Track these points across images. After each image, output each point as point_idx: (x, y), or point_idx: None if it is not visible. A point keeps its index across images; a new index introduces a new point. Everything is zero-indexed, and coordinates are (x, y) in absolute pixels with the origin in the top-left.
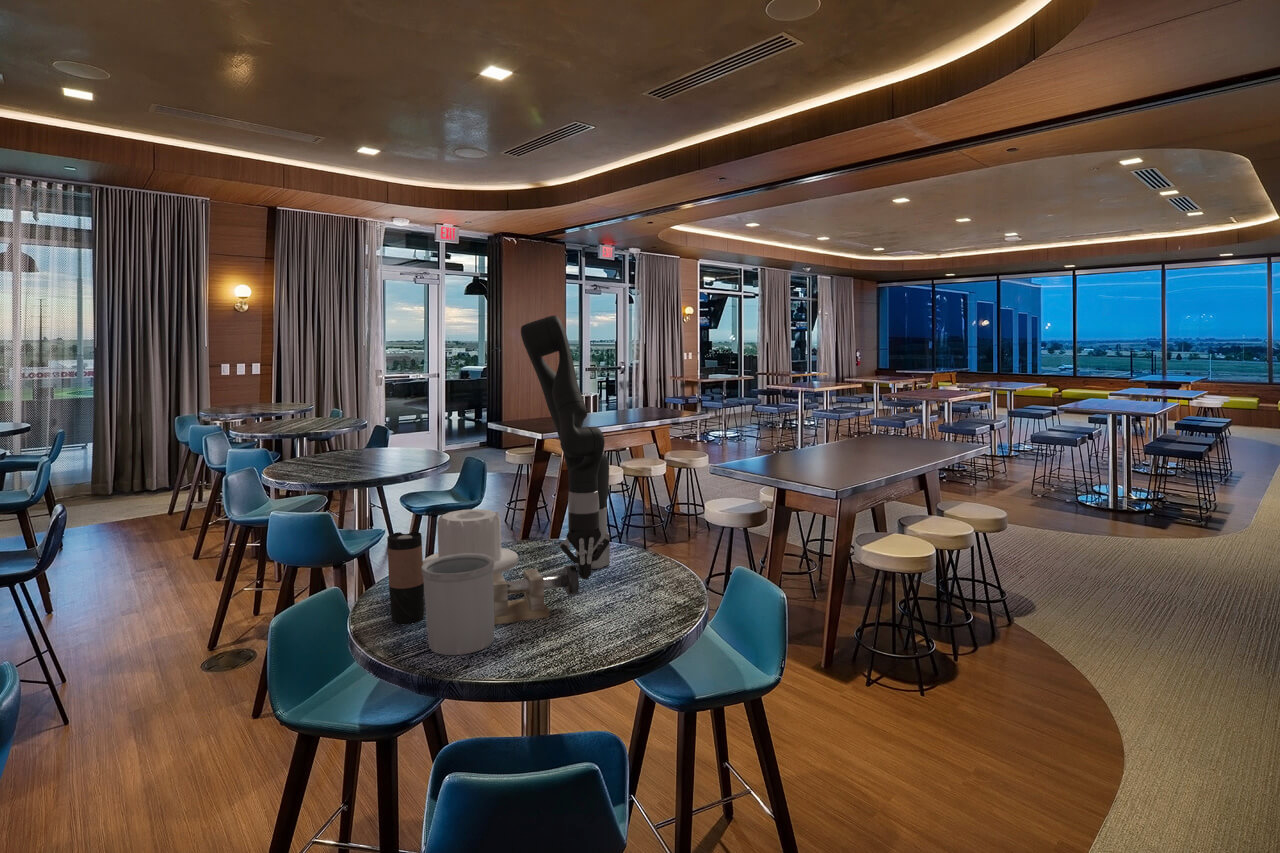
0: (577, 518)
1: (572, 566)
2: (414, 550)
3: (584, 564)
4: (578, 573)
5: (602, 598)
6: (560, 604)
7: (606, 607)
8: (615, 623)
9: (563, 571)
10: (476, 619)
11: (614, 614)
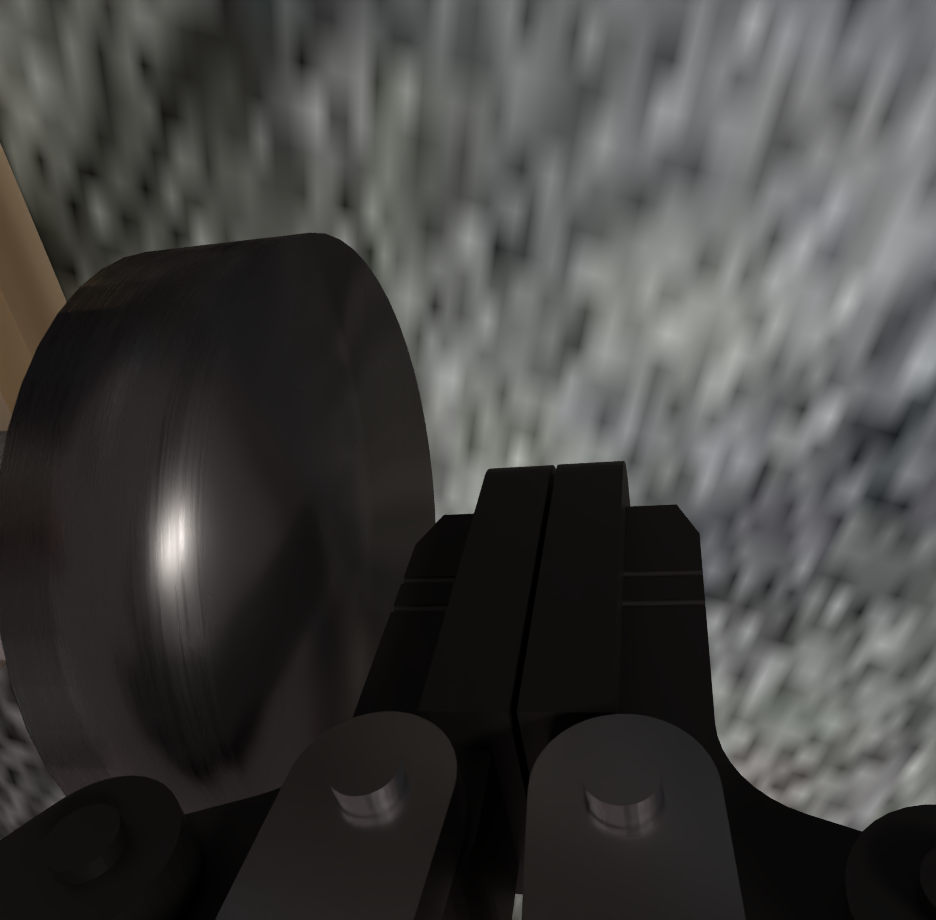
0: None
1: (195, 802)
2: None
3: (513, 869)
4: (414, 555)
5: (931, 141)
6: (263, 229)
7: (837, 494)
8: None
9: (43, 351)
10: None
11: (842, 687)
